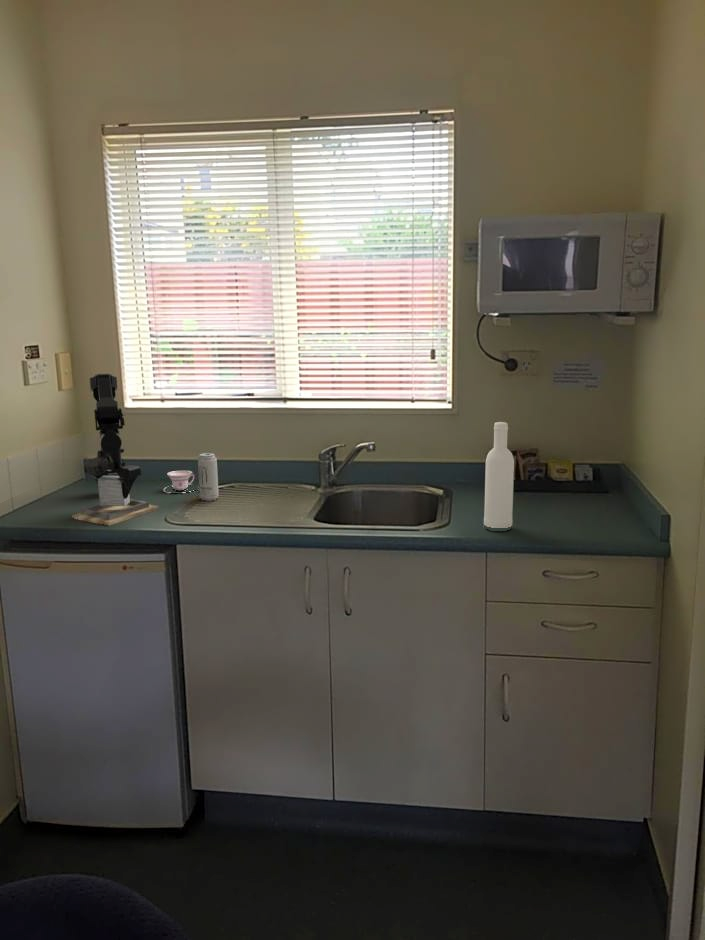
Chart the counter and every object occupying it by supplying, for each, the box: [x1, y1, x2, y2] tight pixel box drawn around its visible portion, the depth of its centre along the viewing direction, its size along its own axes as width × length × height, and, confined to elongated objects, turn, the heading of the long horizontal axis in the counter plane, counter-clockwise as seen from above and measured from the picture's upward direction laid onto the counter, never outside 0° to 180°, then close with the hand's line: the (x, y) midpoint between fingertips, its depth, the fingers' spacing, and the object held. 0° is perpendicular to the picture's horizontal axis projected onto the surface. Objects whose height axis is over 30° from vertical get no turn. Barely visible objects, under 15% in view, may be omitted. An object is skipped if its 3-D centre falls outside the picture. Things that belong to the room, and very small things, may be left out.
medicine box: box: [97, 476, 131, 506], centre depth 234 cm, size 8×4×9 cm, turn 84°
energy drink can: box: [197, 452, 220, 502], centre depth 249 cm, size 6×6×15 cm
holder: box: [71, 498, 160, 526], centre depth 235 cm, size 16×20×2 cm
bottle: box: [483, 421, 515, 528], centre depth 212 cm, size 8×8×30 cm
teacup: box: [162, 470, 196, 494], centre depth 264 cm, size 12×12×6 cm
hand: (114, 496), depth 234 cm, fingers closed on medicine box, 9 cm apart
